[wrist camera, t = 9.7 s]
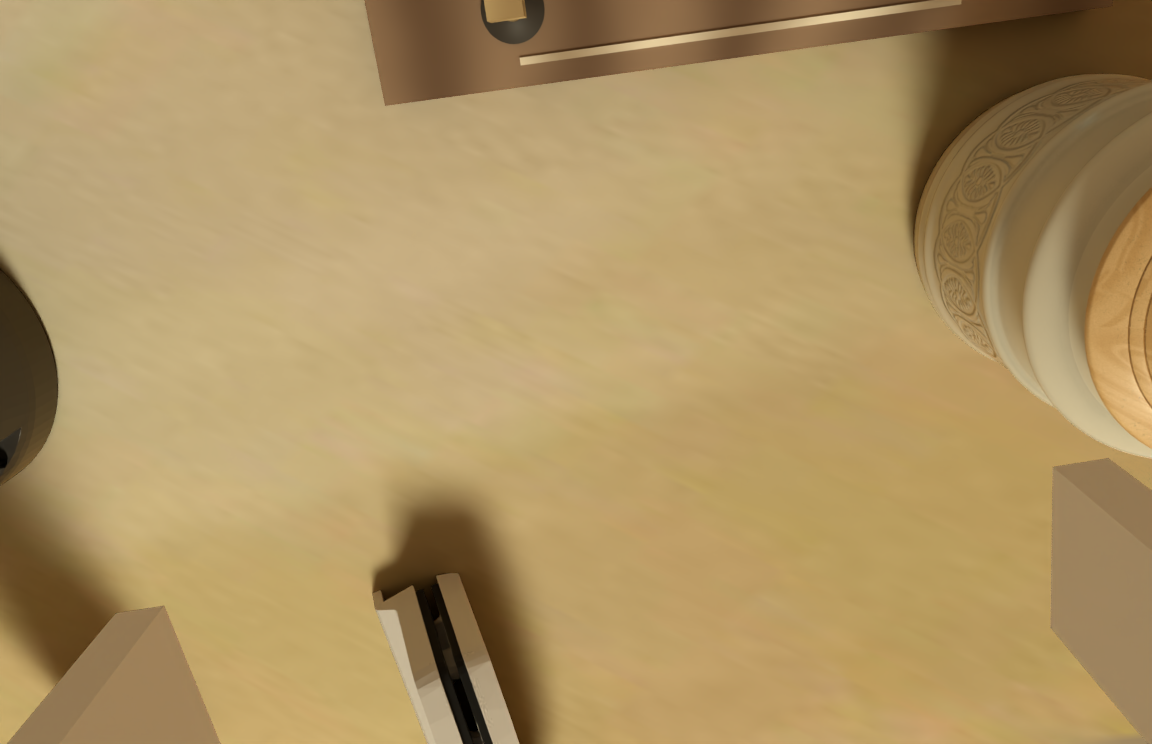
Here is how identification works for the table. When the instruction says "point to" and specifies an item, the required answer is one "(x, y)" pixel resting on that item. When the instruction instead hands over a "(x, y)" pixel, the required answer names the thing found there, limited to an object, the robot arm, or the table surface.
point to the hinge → (445, 664)
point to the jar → (1053, 248)
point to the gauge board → (633, 35)
